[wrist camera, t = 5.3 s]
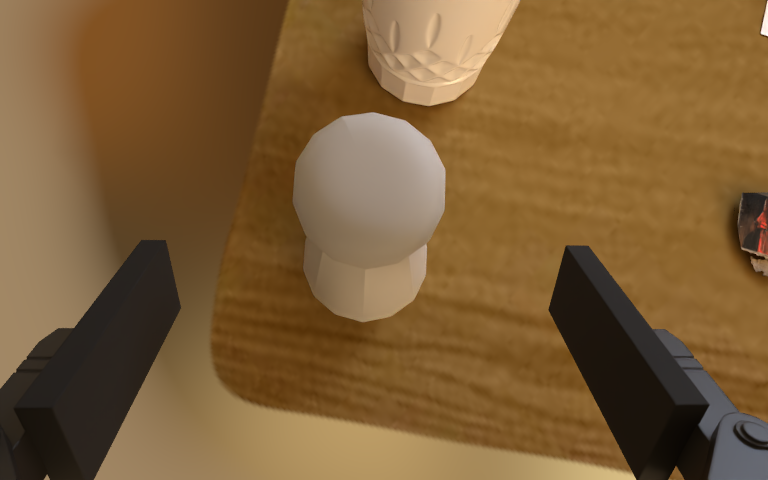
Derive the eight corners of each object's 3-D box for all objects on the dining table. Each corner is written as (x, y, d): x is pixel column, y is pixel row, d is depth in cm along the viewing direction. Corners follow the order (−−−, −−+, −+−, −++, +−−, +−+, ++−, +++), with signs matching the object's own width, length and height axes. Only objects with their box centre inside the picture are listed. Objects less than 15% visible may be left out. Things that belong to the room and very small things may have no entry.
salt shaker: (432, 231, 26) (505, 107, 13) (405, 338, 24) (458, 313, 12) (326, 202, 26) (296, 51, 13) (293, 307, 24) (225, 249, 12)
